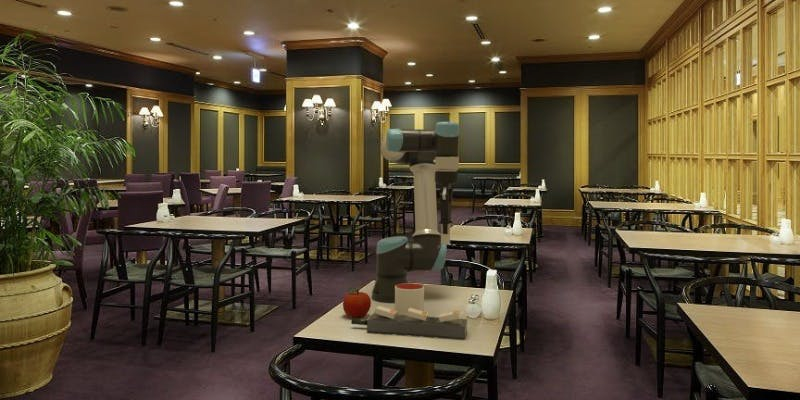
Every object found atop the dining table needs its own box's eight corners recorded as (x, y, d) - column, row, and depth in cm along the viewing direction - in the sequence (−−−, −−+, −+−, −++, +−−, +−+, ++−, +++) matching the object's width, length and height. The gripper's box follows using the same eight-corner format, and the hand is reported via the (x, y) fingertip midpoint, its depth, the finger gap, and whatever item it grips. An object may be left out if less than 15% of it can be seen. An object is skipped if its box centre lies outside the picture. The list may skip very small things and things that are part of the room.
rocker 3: (441, 318, 181) (440, 313, 181) (460, 315, 180) (459, 310, 180) (440, 322, 178) (438, 316, 178) (459, 318, 176) (458, 313, 176)
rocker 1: (377, 310, 185) (379, 305, 185) (395, 315, 184) (396, 310, 184) (374, 313, 182) (376, 307, 181) (393, 318, 181) (394, 313, 180)
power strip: (355, 324, 189) (355, 311, 189) (467, 331, 182) (467, 318, 182) (348, 331, 181) (348, 318, 181) (464, 339, 174) (465, 325, 174)
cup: (421, 319, 195) (421, 290, 194) (391, 318, 197) (392, 288, 196) (425, 312, 205) (426, 284, 204) (398, 310, 207) (398, 282, 206)
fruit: (369, 320, 193) (369, 291, 193) (340, 320, 194) (340, 290, 193) (372, 313, 203) (372, 284, 202) (344, 312, 203) (344, 284, 203)
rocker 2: (408, 312, 183) (409, 307, 183) (427, 317, 182) (428, 312, 182) (406, 315, 180) (407, 310, 179) (425, 320, 179) (426, 315, 178)
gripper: (437, 169, 194) (436, 240, 196) (432, 170, 181) (430, 246, 183) (460, 170, 192) (459, 241, 194) (456, 171, 180) (454, 247, 181)
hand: (445, 243), depth 189 cm, fingers closed
